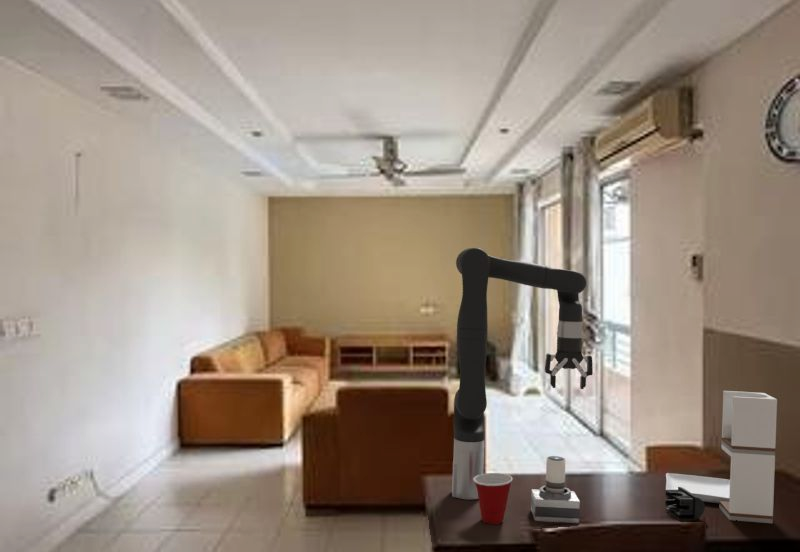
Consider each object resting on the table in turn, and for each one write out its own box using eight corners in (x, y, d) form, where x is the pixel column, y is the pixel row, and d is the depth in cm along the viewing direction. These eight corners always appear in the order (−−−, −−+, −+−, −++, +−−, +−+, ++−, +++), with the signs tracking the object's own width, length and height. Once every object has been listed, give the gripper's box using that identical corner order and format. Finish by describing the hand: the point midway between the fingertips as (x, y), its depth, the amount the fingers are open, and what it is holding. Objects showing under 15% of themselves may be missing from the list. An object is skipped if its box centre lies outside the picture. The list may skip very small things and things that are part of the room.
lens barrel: (546, 496, 201) (547, 460, 200) (544, 490, 206) (545, 455, 206) (566, 497, 200) (567, 461, 200) (562, 491, 206) (564, 456, 205)
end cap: (704, 521, 203) (705, 497, 203) (680, 521, 202) (681, 497, 202) (687, 509, 213) (688, 486, 213) (664, 509, 212) (665, 486, 212)
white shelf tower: (759, 510, 213) (764, 393, 213) (772, 523, 203) (777, 399, 202) (719, 507, 215) (723, 390, 214) (729, 519, 204) (734, 396, 204)
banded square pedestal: (534, 520, 199) (535, 493, 199) (530, 509, 208) (531, 483, 208) (579, 523, 198) (580, 496, 198) (573, 511, 207) (574, 486, 207)
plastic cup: (470, 512, 204) (471, 470, 204) (508, 514, 203) (510, 472, 203) (473, 526, 193) (474, 482, 193) (513, 528, 193) (515, 483, 192)
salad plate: (665, 500, 222) (665, 489, 222) (665, 481, 242) (665, 471, 242) (741, 510, 214) (741, 498, 214) (734, 490, 234) (735, 479, 234)
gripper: (548, 336, 219) (546, 389, 219) (595, 337, 218) (593, 391, 218) (544, 333, 226) (542, 385, 226) (590, 335, 225) (588, 387, 225)
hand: (567, 388), depth 222 cm, fingers open, 8 cm apart
